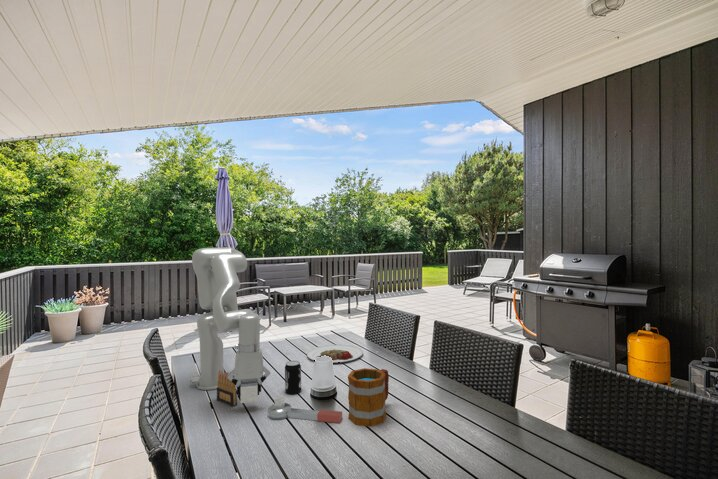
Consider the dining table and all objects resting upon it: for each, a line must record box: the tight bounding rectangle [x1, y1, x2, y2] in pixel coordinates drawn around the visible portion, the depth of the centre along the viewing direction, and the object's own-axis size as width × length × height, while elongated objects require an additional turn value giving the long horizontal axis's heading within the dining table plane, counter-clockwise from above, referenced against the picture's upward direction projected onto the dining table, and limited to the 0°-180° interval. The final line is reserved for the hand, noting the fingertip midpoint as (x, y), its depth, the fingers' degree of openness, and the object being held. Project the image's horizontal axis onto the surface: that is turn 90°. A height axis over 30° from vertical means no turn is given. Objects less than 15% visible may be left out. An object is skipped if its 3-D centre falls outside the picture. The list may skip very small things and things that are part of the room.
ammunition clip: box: [216, 370, 238, 407], centre depth 148 cm, size 11×2×12 cm, turn 54°
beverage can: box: [284, 360, 302, 395], centre depth 157 cm, size 7×7×12 cm
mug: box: [347, 368, 390, 428], centre depth 136 cm, size 20×14×15 cm
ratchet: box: [267, 396, 343, 424], centre depth 135 cm, size 27×8×6 cm, turn 76°
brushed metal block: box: [240, 379, 259, 404], centre depth 142 cm, size 6×6×7 cm
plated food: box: [306, 344, 364, 364], centre depth 204 cm, size 30×30×3 cm
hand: (249, 394), depth 142 cm, fingers closed on brushed metal block, 6 cm apart
